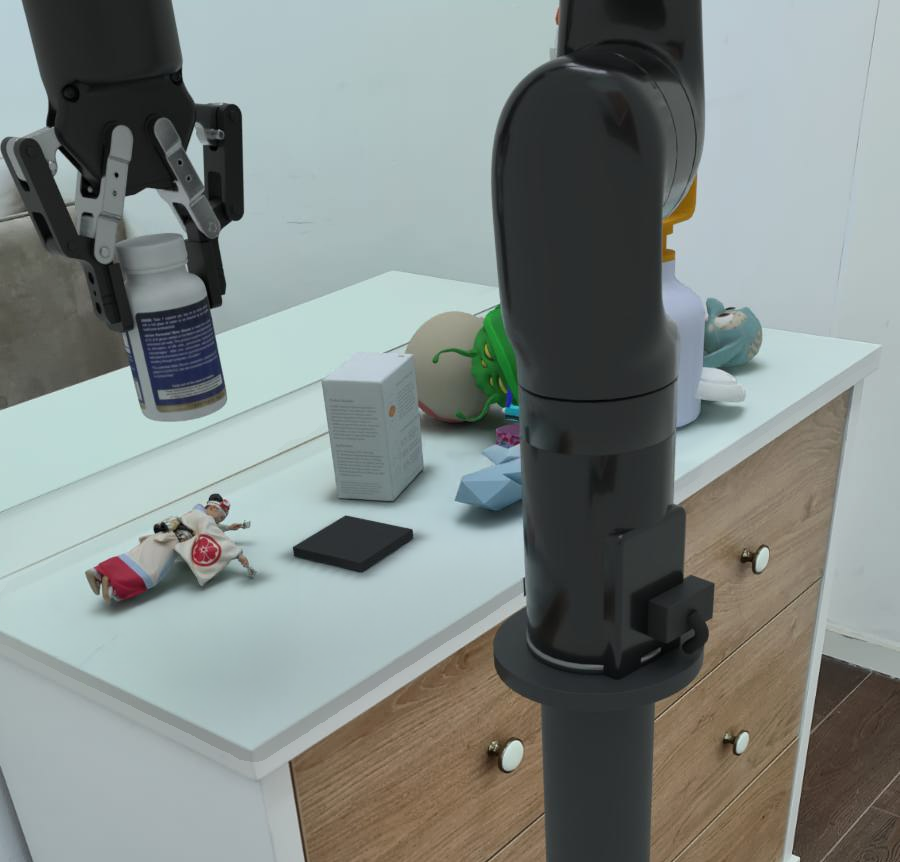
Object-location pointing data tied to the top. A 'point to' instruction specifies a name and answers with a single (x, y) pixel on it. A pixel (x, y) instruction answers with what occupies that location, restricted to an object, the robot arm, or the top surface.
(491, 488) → the polygonal blue rock
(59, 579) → the top surface
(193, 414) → the pill bottle
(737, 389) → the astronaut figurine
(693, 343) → the soap bottle
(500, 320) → the figurine
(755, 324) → the stuffed animal
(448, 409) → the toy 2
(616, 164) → the robot arm
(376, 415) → the small box
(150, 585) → the figurine
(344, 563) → the pad
